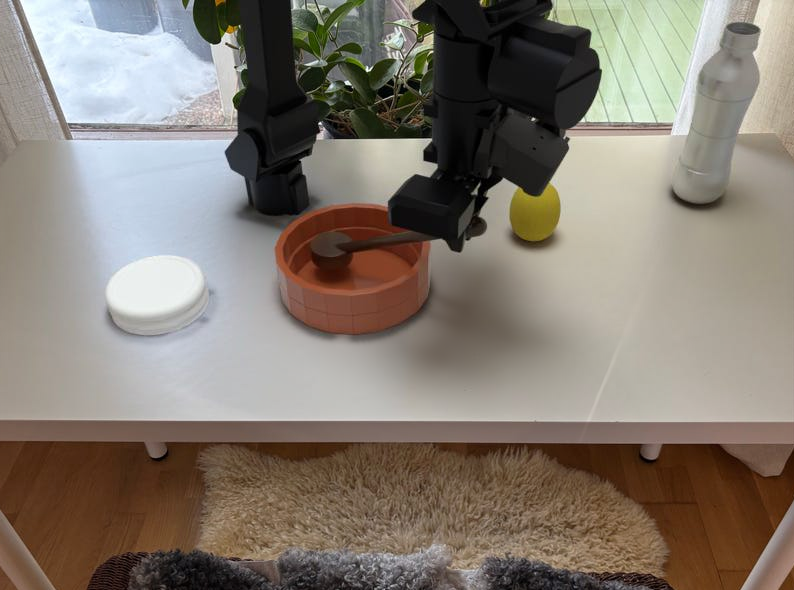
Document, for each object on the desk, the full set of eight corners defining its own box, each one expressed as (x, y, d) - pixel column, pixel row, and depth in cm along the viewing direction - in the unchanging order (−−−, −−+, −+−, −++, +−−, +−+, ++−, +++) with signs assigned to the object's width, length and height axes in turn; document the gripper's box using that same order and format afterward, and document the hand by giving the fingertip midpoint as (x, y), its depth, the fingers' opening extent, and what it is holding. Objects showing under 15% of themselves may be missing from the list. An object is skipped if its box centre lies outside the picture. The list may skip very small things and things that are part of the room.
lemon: (554, 258, 86) (563, 195, 80) (504, 253, 86) (509, 190, 81) (557, 229, 89) (566, 168, 84) (509, 225, 90) (515, 163, 85)
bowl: (253, 314, 80) (244, 269, 76) (328, 234, 90) (323, 190, 86) (389, 358, 75) (387, 312, 71) (452, 267, 85) (454, 223, 81)
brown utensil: (303, 263, 81) (294, 184, 74) (324, 241, 84) (317, 163, 77) (471, 314, 75) (478, 233, 69) (488, 288, 78) (495, 208, 71)
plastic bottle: (729, 190, 95) (783, 23, 81) (713, 217, 91) (766, 46, 77) (677, 175, 97) (720, 11, 83) (659, 201, 93) (701, 33, 79)
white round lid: (211, 273, 85) (204, 247, 82) (210, 333, 78) (204, 307, 75) (117, 285, 84) (108, 258, 81) (108, 347, 77) (98, 320, 74)
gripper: (525, 162, 54) (507, 329, 65) (598, 58, 66) (572, 214, 77) (381, 130, 57) (387, 294, 68) (475, 37, 69) (467, 189, 80)
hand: (460, 245), depth 73 cm, fingers closed on brown utensil, 2 cm apart
